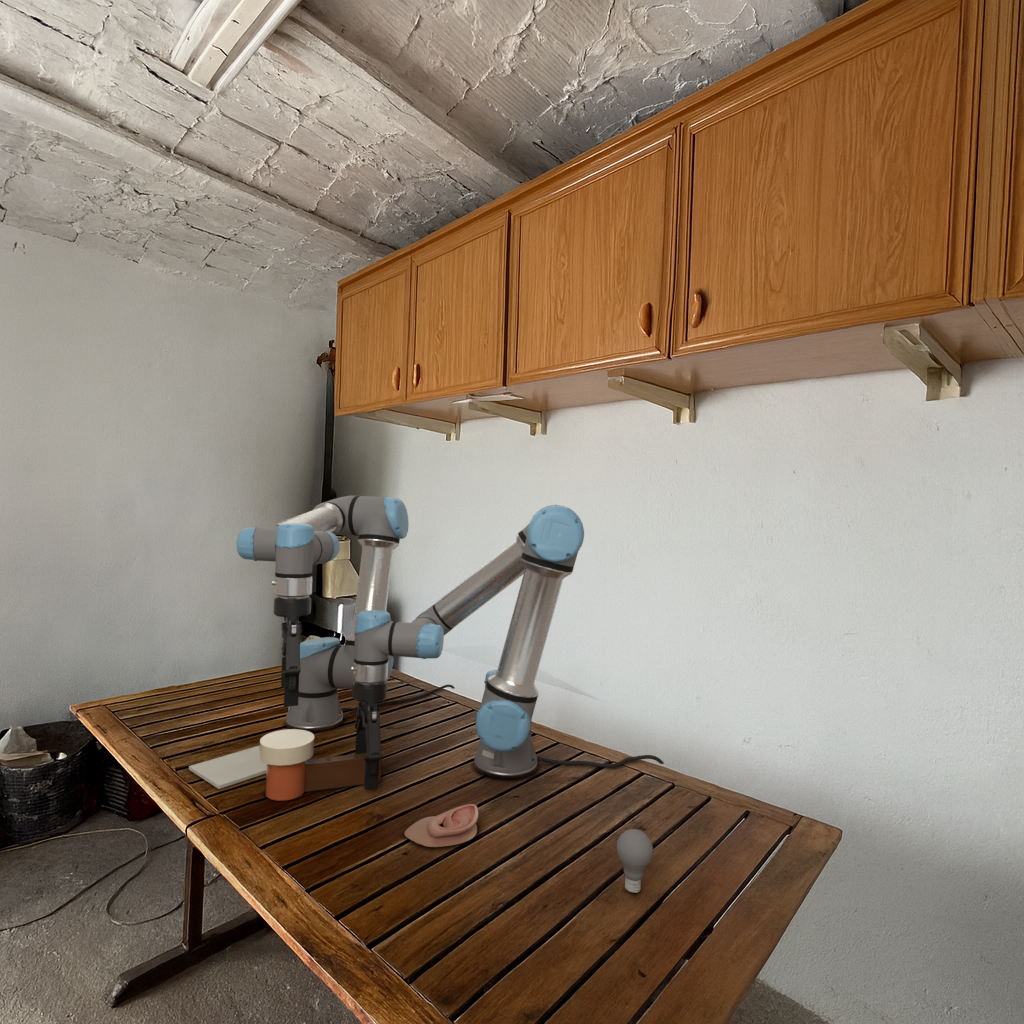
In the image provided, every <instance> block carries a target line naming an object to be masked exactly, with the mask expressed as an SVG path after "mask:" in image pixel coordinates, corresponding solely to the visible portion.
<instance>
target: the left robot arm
mask: <svg viewBox="0 0 1024 1024" xmlns="http://www.w3.org/2000/svg"><path fill="white" fill-rule="evenodd" d="M408 533H409V514H408V510H407V506H406V504H405V502H404V501H403V500H402V499H400V498H398V497H392V496H387V495H386V496H375V495H374V496H371V495H346V496H345V495H344V496H340V497H337V498H333V499H330V500H327V501H324V502H321V503H318V504H317V505H315V506H314V507H313V509H312V510H309V511H308V512H304V513H302V514H299V515H295V516H293V517H291V518H287V519H284V520H282V521H279V522H277V523H274V524H271V525H268V526H265V527H257V526H254V527H244V528H243V529H242V530H241V531H240V532H239V533H238V535H237V538H236V551H237V553H238V556H240V558H241V559H243V560H247V561H248V560H249V561H254V562H274V563H275V571H274V579H275V580H272V581H271V585H272V586H274V595H275V597H274V599H273V615H274V616H276V617H280V618H283V622H281V638H282V647H281V651H282V652H281V655H282V657H281V675H280V677H281V679H280V687H281V688H284V690H283V707H284V708H285V707H288V708H287V709H288V711H287V713H286V715H285V726H286V728H287V729H299V730H306V731H309V732H311V733H316V732H325V731H329V730H332V729H335V728H337V727H339V726H340V725H342V723H343V722H344V714H343V712H347V711H349V712H351V711H352V712H357V707H342V706H341V702H340V699H339V695H338V689H342V690H343V689H344V690H352V688H353V682H354V681H355V680H354V679H353V672H354V671H351V667H353V666H354V647H355V634H354V632H355V628H356V618H357V615H358V614H359V613H360V612H362V611H367V610H381V611H386V612H387V608H388V599H389V590H390V581H391V571H392V563H393V555H394V550H395V549H397V548H398V547H399V546H400V540H403V539H405V538H406V537H407V535H408ZM337 535H340V536H342V535H343V536H355V537H358V538H357V543H359V545H360V546H361V547H362V549H361V556H360V565H359V575H358V580H357V589H356V598H355V605H354V612H353V613H354V614H353V622H352V628H351V633H350V634H349V635H348V636H347V637H346V638H345V640H344V641H345V642H344V644H340V643H341V641H340V639H339V638H338V637H334V636H331V637H330V636H326V637H327V638H325V637H320V638H317V639H312V640H307V641H305V640H304V641H302V633H303V624H302V622H301V621H300V620H299V618H300V617H306V616H309V615H310V614H311V613H312V597H311V595H312V594H313V567H314V566H315V565H320V564H321V565H325V564H327V563H328V562H332V561H333V560H334V559H336V558H337V556H338V555H339V553H340V549H341V544H340V540H339V538H338V536H337ZM394 661H395V656H389V655H388V678H387V679H386V680H385V681H386V682H387V683H388V681H389V679H390V677H391V675H392V671H393V668H394ZM445 688H451V689H452V690H454V689H455V688H456V687H455V686H454V685H452V684H444V685H442V686H439V687H437V688H434V689H432V690H429V691H428V692H424V693H422V694H419V695H416V696H412V697H411V696H410V697H407V698H402V699H396V700H395V699H394V700H387V701H382V702H377V707H379V706H385V705H390V704H398V703H404V702H410V701H414V700H418V699H420V698H423V697H426V696H428V695H431V694H433V693H435V692H438V691H441V690H443V689H445Z"/></svg>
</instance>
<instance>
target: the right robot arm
mask: <svg viewBox="0 0 1024 1024" xmlns="http://www.w3.org/2000/svg"><path fill="white" fill-rule="evenodd" d="M584 528H585V527H584V524H583V521H582V519H581V517H580V516H579V515H578V514H577V513H576V512H575V511H574V510H573V509H571V508H570V507H568V506H565V505H560V504H550V505H547V506H544V507H542V508H540V509H539V510H538V511H536V512H535V514H534V515H533V516H532V517H531V519H530V520H529V523H528V524H527V525H526V526H525V527H524V528H523V529H521V530H520V531H519V532H517V533H516V538H515V540H514V541H513V542H512V543H510V544H509V545H508V546H507V547H505V548H504V549H503V550H501V551H500V552H499V553H497V554H496V555H494V557H492V558H491V559H490V560H488V561H487V562H486V563H485V564H483V565H482V566H481V567H479V568H478V569H477V570H476V571H474V572H473V573H472V574H471V575H469V576H468V577H466V579H464V580H462V581H461V582H460V583H459V584H458V585H457V586H455V587H454V588H452V589H451V590H450V591H449V592H447V593H446V594H445V595H444V596H442V597H441V598H440V599H438V600H437V601H436V602H435V603H434V604H432V605H431V606H430V607H428V608H427V609H425V610H424V611H423V612H421V613H419V614H418V616H416V617H415V619H413V620H412V621H411V622H406V621H405V622H401V621H393V620H392V618H391V613H390V612H388V611H387V610H386V611H381V610H367V611H362V612H360V613H359V614H358V615H357V618H356V628H355V632H354V634H355V647H354V666H353V667H351V671H354V672H353V679H354V680H355V681H354V682H353V688H352V689H351V697H352V699H353V700H354V701H356V702H357V707H356V708H357V711H356V713H355V714H356V715H355V720H354V728H355V733H356V734H355V747H354V749H355V750H354V751H355V752H354V754H362V753H367V756H365V757H364V760H366V761H365V782H364V784H363V789H364V790H372V789H378V787H379V786H378V785H379V782H378V768H379V759H381V760H382V758H383V757H382V742H381V741H382V740H381V738H382V737H381V710H380V707H379V706H377V703H379V702H380V701H383V700H385V699H386V698H387V691H388V681H387V682H386V681H385V680H386V679H387V678H388V655H389V656H393V657H402V658H416V659H417V658H418V659H422V660H427V659H438V658H440V657H441V655H442V652H443V648H444V639H445V636H446V635H447V634H448V633H449V632H451V631H452V630H453V629H454V628H456V627H457V626H458V625H459V624H461V623H462V622H464V621H465V620H466V619H468V618H469V617H470V616H471V615H473V614H474V613H475V612H477V611H478V610H479V609H480V608H482V607H483V606H485V605H486V604H487V603H488V602H489V601H491V600H492V599H493V598H494V597H496V596H498V594H500V593H501V592H503V591H504V590H505V589H506V588H508V587H509V586H510V585H512V584H513V583H514V582H516V581H517V580H519V578H521V577H522V579H521V582H520V587H519V589H518V593H517V597H516V601H515V604H514V609H513V611H512V615H511V618H510V619H511V620H510V622H509V627H508V631H507V633H506V638H505V641H504V644H503V647H502V652H501V656H500V659H499V661H498V666H497V669H493V670H489V671H487V672H486V674H485V680H484V691H483V695H482V699H481V702H480V706H479V709H478V711H477V712H476V715H475V718H474V719H475V721H474V723H475V731H476V734H477V736H478V739H479V743H478V745H477V749H476V751H475V753H474V759H473V762H474V763H473V766H474V767H473V768H475V770H476V771H477V772H479V773H480V774H481V775H484V776H486V777H490V778H493V779H498V780H499V779H500V780H515V779H516V780H518V779H523V778H526V777H529V776H531V775H533V774H535V773H536V771H537V769H538V762H540V763H547V764H553V765H560V766H574V765H575V766H590V767H597V768H604V769H611V768H612V769H613V768H618V767H621V766H623V765H624V764H626V763H628V762H634V761H640V760H654V761H656V762H657V763H659V764H660V765H664V764H665V763H664V760H662V759H661V758H660V757H658V756H656V755H653V754H642V755H636V756H629V757H626V758H623V759H620V761H618V762H614V763H604V762H603V763H602V762H596V761H588V760H559V759H558V760H557V759H552V758H546V757H539V756H537V753H536V749H535V745H534V741H533V737H532V723H533V722H532V719H533V715H534V711H535V708H536V704H537V701H538V697H539V693H540V691H539V689H538V688H537V686H536V684H535V682H536V678H537V675H538V672H539V668H540V664H541V660H542V657H543V654H544V650H545V646H546V644H547V643H546V642H547V640H548V635H549V632H550V629H551V625H552V621H553V617H554V615H555V614H554V613H555V610H556V607H557V602H558V600H559V595H560V593H561V589H562V585H563V581H564V579H565V578H567V577H569V576H571V575H572V574H573V573H574V572H573V571H574V568H575V564H576V560H577V557H578V554H579V551H580V550H581V548H582V546H583V543H584V541H585V540H584V538H585V529H584ZM372 753H373V754H372Z"/></svg>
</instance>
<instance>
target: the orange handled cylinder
mask: <svg viewBox="0 0 1024 1024" xmlns="http://www.w3.org/2000/svg"><path fill="white" fill-rule="evenodd" d="M372 754H373V753H372ZM365 756H367V753H362V754H355V753H353V754H346V755H335V756H326V757H319V758H317V757H316V758H310V759H308V760H306V761H304V762H301V763H297V764H292V765H282V766H279V765H269V764H267V768H266V774H265V797H266V798H268V799H269V800H272V801H277V802H281V801H282V802H283V801H290V800H294V799H297V798H299V797H301V796H302V795H303V794H305V793H306V792H307V793H308V792H315V791H316V792H317V791H322V790H330V789H331V790H332V789H339V788H346V787H354V786H361V785H362V786H364V782H365V761H366V760H364V757H365ZM381 778H382V758H381V759H379V768H378V783H381V781H382V780H381Z"/></svg>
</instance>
